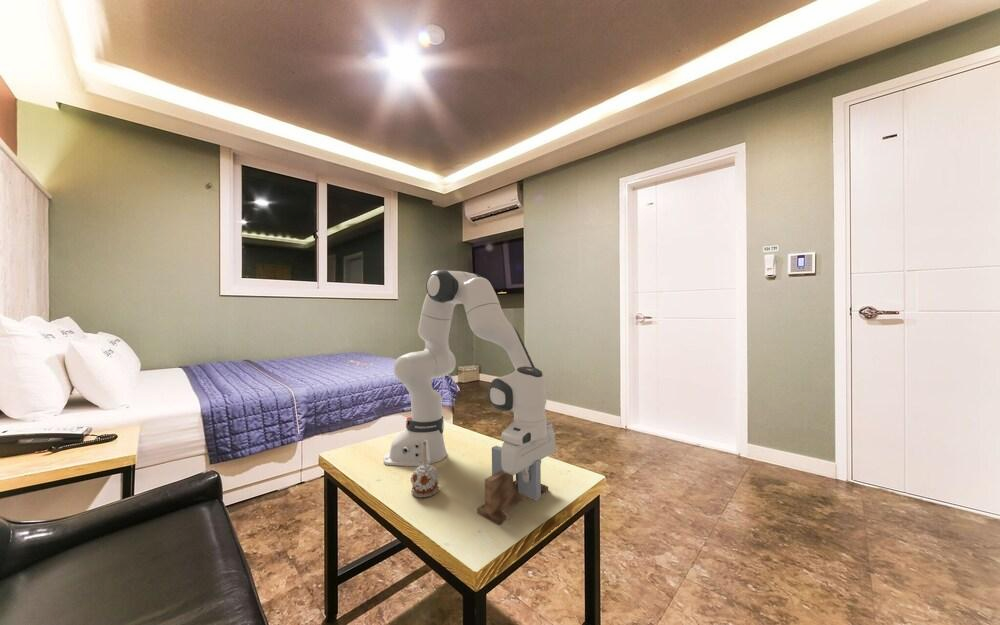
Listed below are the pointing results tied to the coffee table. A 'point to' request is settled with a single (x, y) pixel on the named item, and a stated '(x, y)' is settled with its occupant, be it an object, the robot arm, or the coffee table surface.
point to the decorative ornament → (425, 479)
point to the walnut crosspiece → (501, 496)
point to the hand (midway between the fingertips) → (530, 478)
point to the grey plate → (521, 475)
